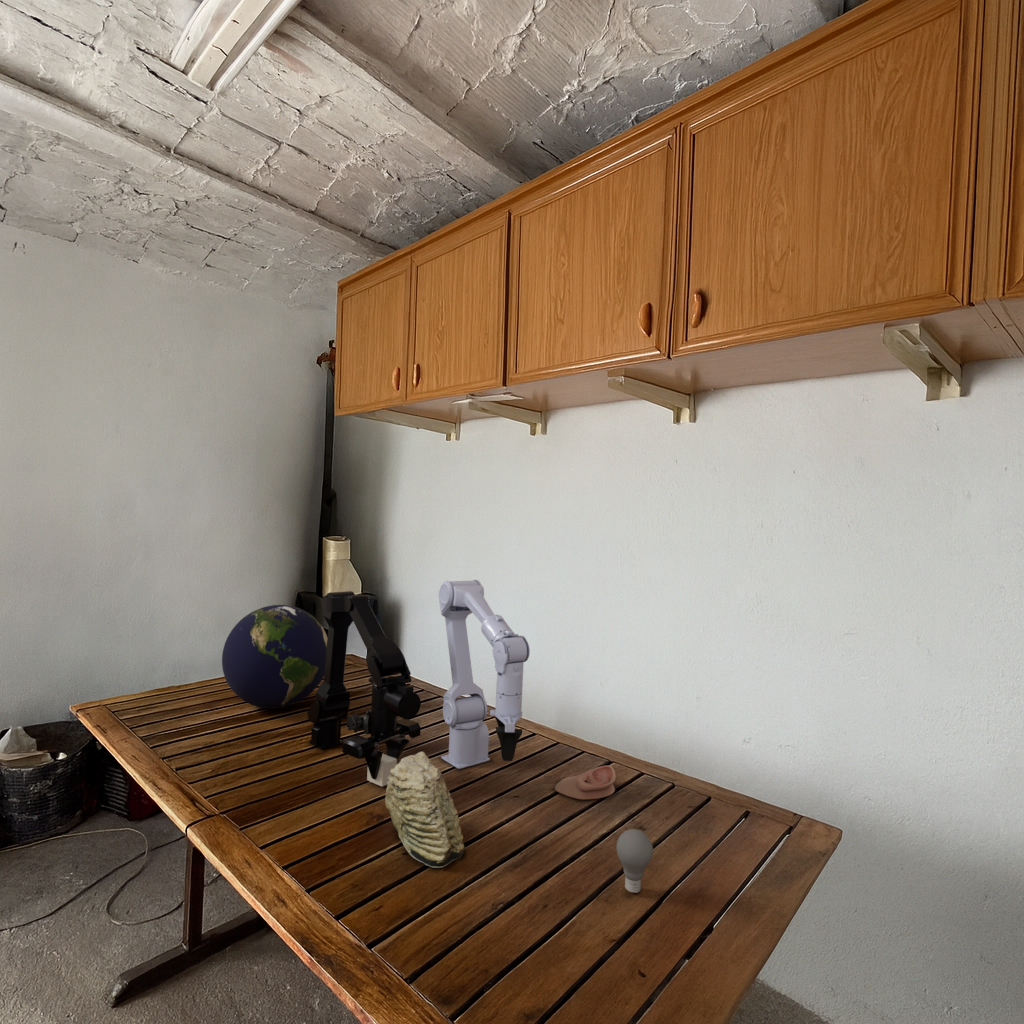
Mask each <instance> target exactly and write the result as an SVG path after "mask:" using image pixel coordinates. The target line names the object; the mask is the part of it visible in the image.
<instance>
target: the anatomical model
mask: <svg viewBox="0 0 1024 1024" xmlns="http://www.w3.org/2000/svg"><path fill="white" fill-rule="evenodd" d="M616 778H617V775H616V772H615V769H614V768H613V767H612V766H611V765H601V766H597V767H594V768H592V769H589V770H587V771H585V772H583V773H580V774H578V775H572V776H567V777H564V778H562V780H560V781H559V782H557V784H556V785H555V786H554V790H555V791H556V792H557V793H559V794H561V795H563V796H567V797H569V798H573V799H576V800H596V799H603V798H606V797H609V796H611V795H613V794H614V793H615V791H616V788H615V785H614V783H615V782H616Z"/></svg>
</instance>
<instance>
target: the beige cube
mask: <svg viewBox="0 0 1024 1024" xmlns="http://www.w3.org/2000/svg"><path fill="white" fill-rule="evenodd" d="M397 764H398V761H397V759H396V758H393V757H391V756H388V755H387V754H385V753H383V754H382V759H381V763H380V767H379V772H378V775H377V778H376V779H375V780H374V779H372V777H371V774H370V771H369V768H368V767H367V770H366V771H367V772H366V773H367V775H366V781H367V782H370V783H372V784H374V785H377V786H378V787H381V788H382V787H383V788H384V787H385V786H387V782H388V781H389V780H388V779H387V778H388V776H390V770H391V769H394V768H395V766H396V765H397Z"/></svg>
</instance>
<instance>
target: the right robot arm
mask: <svg viewBox="0 0 1024 1024" xmlns="http://www.w3.org/2000/svg"><path fill="white" fill-rule="evenodd" d="M438 603H439V610H440V615H441V617H444V621H445V629H446V638H447V647H448V655H449V664H450V673H451V681H452V685H451V686H450V687H449V688H448V689H447V691H446V692H444V694H443V697H442V698H443V706H442V716H443V719H444V721H445V723H446V724H447V726H448V727H449V735H448V736H449V737H448V753H447V754H444V755H441V756H440V759H442V760H443V761H445V762H446V763H448V764H449V765H451V766H452V767H454V768H456V769H457V770H462V769H466V768H469V767H473V766H475V765H478V764H483V763H486V762H490V761H491V758H490V757H489V744H490V731H489V728H488V725H487V723H485V722H484V720H485V719H486V718H487V715H488V710H489V709H488V703H487V701H486V699H485V695H484V690H483V688H482V687H480V686H479V685H478V684H476V683H474V677H473V668H472V662H471V661H472V660H471V654H470V652H471V651H470V644H469V636H468V630H467V619H468V616H469V615H471V614H473V615H474V617H475V618H477V620H478V621H479V622H480V623H481V626H480V630H481V633H482V634H483V636H484V637H485V638H486V641H488V642H489V644H490V645H491V647H492V657H493V661H494V668H495V671H496V691H495V709H490V710H489V715H490V716H491V717H494V718H495V721H496V723H497V724H496V725H497V726H495V733H496V736H497V737H498V741H499V744H500V753H501V759H502V762H513V760H514V757H515V753H516V748H517V745H518V742H519V740H520V738H521V737H522V734H523V728H516V726H517V723H518V722H519V721H520V719H521V718H522V717H523V711H522V710H523V709H522V707H523V706H522V705H523V704H522V703H523V687H524V663H526V662H527V661H528V660H529V658H530V651H531V649H530V644H529V642H528V639H527V637H525V636H524V635H519V634H518V633H515V632H514V631H513V629H512V628H511V627H510V625H509V624H508V622H507V621H506V620H505V619H504V617H503V616H502V615H500V614H495V613H494V611H493V610H492V608H491V607H490V605H489V603H488V601H487V600H486V598H485V588H484V586H483V585H482V583H481V581H480V580H478V579H472V580H451V581H449V580H444V581H443V582H442V583H441V585H440V587H439V590H438ZM461 696H462V697H461ZM458 697H459V698H458Z"/></svg>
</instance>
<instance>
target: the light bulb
mask: <svg viewBox="0 0 1024 1024" xmlns="http://www.w3.org/2000/svg"><path fill="white" fill-rule="evenodd" d="M615 849H616V854H617V857H618V859H619V861H620V863H621V865H622V867H623V873H624V874H623V875H624V876H625V878H624V888H625V890H627V891H628V892H630V893H634V894H635V893H639V892H640V891H641V889H642V887H641V886H642V879H643V877H644V875H645V871H646V868H647V867H648V866H649V864H650V863H651V861H652V859H653V855H654V847H653V843H652V841H651V838H649V836H648V835H647V834H646V833H645V832H643V831H642V830H641V829H636V828H629V829H627V830H625V831H623V832H622V833H621V834H620V835H619V837H618V839H617V841H616V847H615Z"/></svg>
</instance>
